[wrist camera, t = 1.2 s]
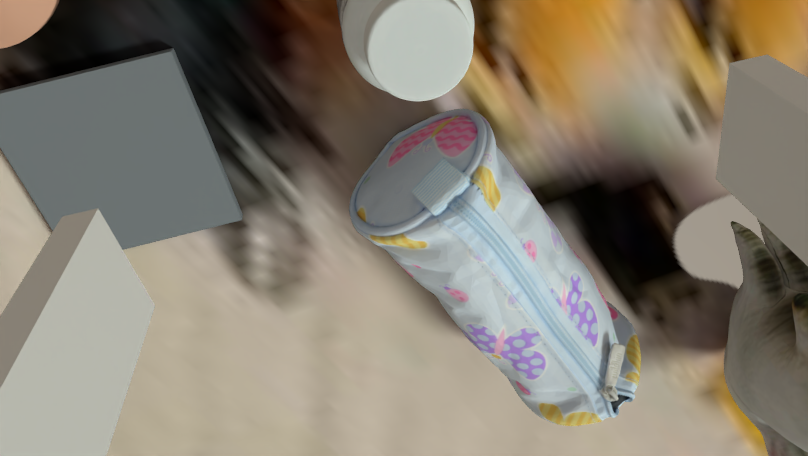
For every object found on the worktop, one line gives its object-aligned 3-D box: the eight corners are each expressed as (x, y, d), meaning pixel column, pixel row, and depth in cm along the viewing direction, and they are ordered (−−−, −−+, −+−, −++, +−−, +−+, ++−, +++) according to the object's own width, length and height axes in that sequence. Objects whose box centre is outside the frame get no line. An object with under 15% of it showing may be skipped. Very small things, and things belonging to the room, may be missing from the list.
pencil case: (613, 297, 44) (682, 399, 36) (510, 359, 46) (554, 469, 38) (456, 70, 33) (504, 143, 25) (330, 162, 35) (339, 257, 27)
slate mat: (242, 214, 36) (242, 219, 36) (75, 256, 36) (72, 262, 35) (173, 47, 31) (171, 51, 30) (-24, 96, 30) (-30, 101, 30)
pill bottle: (442, -70, 29) (496, -33, 21) (443, 43, 32) (491, 114, 24) (328, -62, 29) (339, -21, 21) (340, 52, 32) (353, 127, 24)
